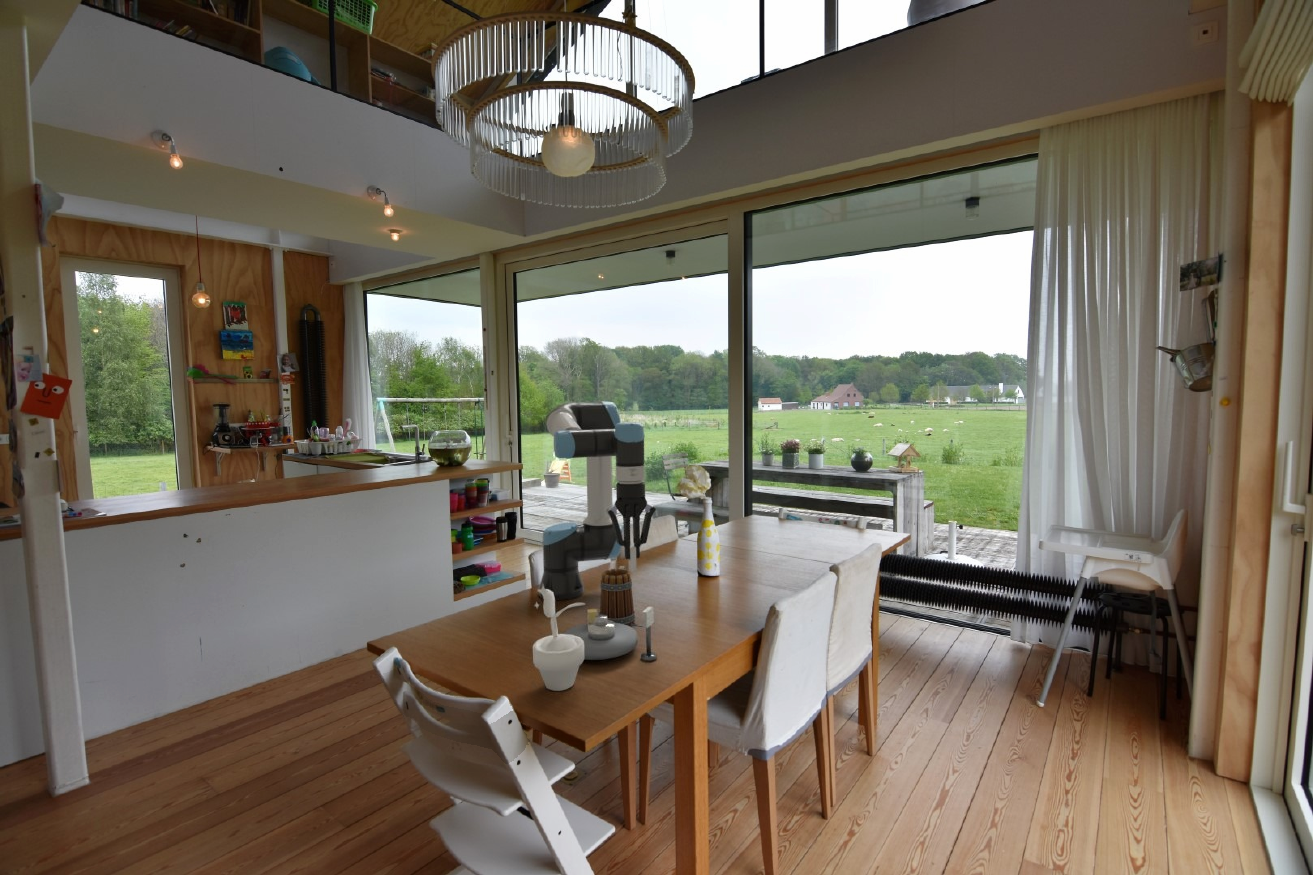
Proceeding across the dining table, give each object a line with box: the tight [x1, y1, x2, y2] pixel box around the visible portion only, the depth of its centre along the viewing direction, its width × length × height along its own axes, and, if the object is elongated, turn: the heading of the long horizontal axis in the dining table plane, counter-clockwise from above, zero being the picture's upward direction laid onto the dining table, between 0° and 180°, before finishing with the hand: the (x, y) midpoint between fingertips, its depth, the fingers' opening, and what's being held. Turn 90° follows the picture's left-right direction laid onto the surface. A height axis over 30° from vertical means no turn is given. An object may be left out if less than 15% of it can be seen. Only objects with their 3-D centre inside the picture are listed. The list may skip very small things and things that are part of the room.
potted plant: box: [532, 586, 586, 692], centre depth 139 cm, size 13×12×25 cm
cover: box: [588, 614, 615, 641], centre depth 159 cm, size 7×7×5 cm
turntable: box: [562, 608, 638, 661], centre depth 159 cm, size 20×20×6 cm
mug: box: [598, 565, 636, 627], centre depth 181 cm, size 16×11×15 cm
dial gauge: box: [630, 606, 658, 662], centre depth 154 cm, size 7×4×12 cm, turn 66°
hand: (632, 570), depth 161 cm, fingers closed
